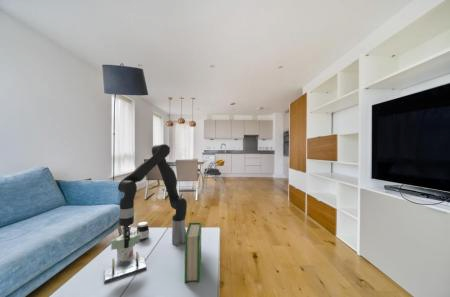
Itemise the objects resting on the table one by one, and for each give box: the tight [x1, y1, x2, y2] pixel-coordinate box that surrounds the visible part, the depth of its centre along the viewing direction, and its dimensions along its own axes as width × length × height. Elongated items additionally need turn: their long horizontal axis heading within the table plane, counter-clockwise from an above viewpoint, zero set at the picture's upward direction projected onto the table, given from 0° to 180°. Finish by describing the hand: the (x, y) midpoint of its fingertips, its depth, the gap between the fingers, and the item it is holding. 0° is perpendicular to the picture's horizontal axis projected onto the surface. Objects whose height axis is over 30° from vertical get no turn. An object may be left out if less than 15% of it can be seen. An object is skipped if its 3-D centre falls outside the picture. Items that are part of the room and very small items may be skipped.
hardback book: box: [184, 222, 202, 284], centre depth 103 cm, size 18×7×24 cm, turn 4°
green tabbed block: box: [110, 233, 140, 251], centre depth 104 cm, size 14×4×5 cm, turn 124°
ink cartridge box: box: [116, 231, 134, 262], centre depth 116 cm, size 9×5×15 cm, turn 168°
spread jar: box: [133, 221, 150, 242], centre depth 141 cm, size 12×11×12 cm
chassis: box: [103, 251, 147, 284], centre depth 104 cm, size 20×12×8 cm, turn 124°
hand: (125, 245), depth 104 cm, fingers closed on green tabbed block, 4 cm apart
